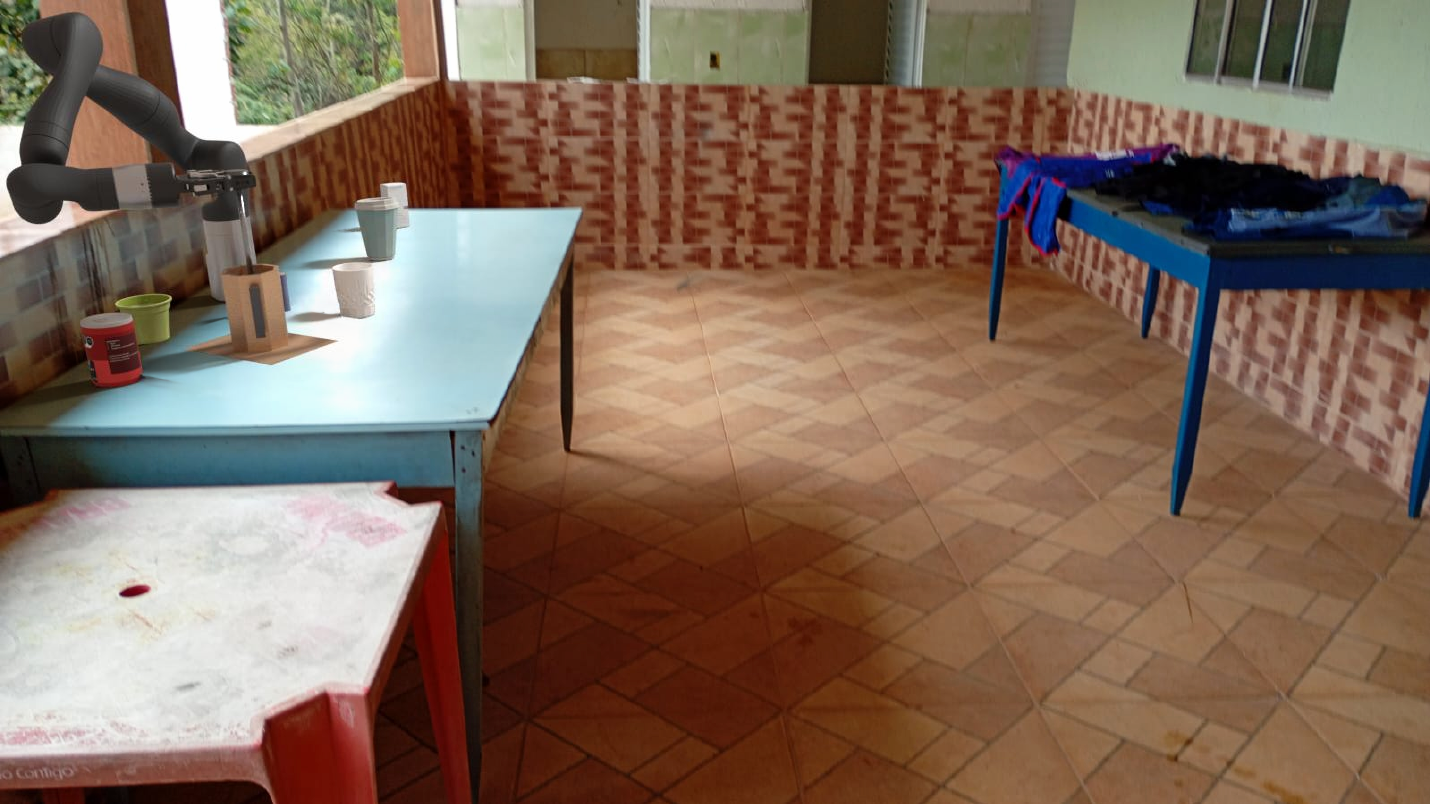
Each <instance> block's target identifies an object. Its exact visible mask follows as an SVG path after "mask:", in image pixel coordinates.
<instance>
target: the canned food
mask: <svg viewBox="0 0 1430 804" xmlns="http://www.w3.org/2000/svg"><path fill="white" fill-rule="evenodd" d="M79 322H80V324H79V325H80V330H81V335H82V341H83V344H84V345H83V346H84V350H85V354H86V360H87V364H88V369H89V374H90V379H91V381H92V383H93V384H95V385H94V386H97V387H98V386H99V387H100V388H106V387H110V388H120V387H126V386H130V385H133V384H136V383H138V382H140V381H141V380H142V379H143V372H144V371H143V367H142V361H141V355H140V351H139V349H140V348H139V345H138V344H137V338H136V333H135V327H134V323H133V318H132V315H130V314H126V313H121V312H108V313H100V314H93V315H90V316H87V317H85V318H83V319H80V321H79Z"/></svg>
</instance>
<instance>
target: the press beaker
mask: <svg viewBox="0 0 1430 804" xmlns="http://www.w3.org/2000/svg"><path fill="white" fill-rule="evenodd" d="M253 271H254V274H252V275H248V271H247V265H239V266H235V267H231V268H227V269H223V271H222V274H221V276H222V282H223V288H224V295H225V301H224V302H225V306H226V312H227V313H226V314H227V319H228V325H229V331H230V333H229V334H231V339H232V346H233V350H234V351H240V352H246V353H255V352H265V351H273V350H276V349H279V348H282V347H285V346H287V345H288V344H289V337H288V333H289V331H288V325H287V318H286V312H285V309H284V302H283V294H282V287H281V280H280V273H279V272H280V267H279V265H277V264H268V263H256V264H253Z"/></svg>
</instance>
